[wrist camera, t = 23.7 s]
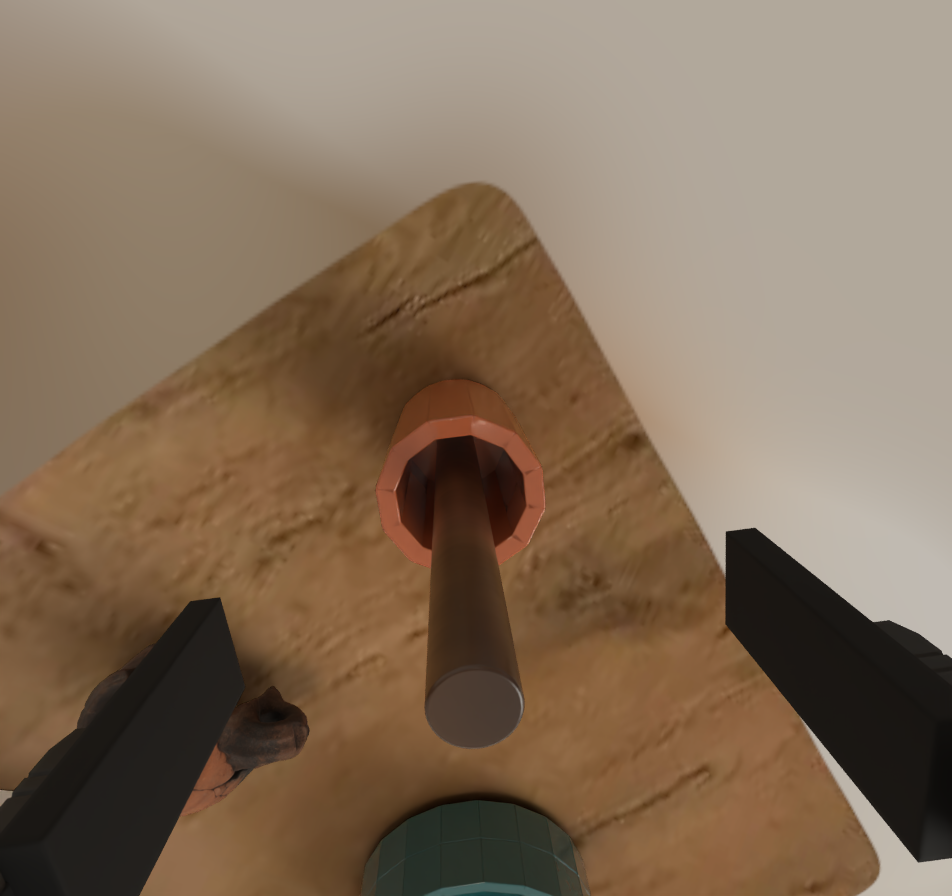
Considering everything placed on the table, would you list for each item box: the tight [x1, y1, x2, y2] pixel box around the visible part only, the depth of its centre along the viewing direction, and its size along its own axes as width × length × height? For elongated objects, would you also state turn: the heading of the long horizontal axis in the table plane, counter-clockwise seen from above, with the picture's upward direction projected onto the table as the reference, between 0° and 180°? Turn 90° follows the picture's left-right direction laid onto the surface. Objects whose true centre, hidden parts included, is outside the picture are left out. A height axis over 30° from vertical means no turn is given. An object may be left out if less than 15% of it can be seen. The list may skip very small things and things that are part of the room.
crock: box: [375, 379, 546, 568], centre depth 27 cm, size 7×7×9 cm
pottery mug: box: [77, 644, 310, 816], centre depth 32 cm, size 12×10×8 cm
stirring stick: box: [425, 435, 524, 749], centre depth 21 cm, size 2×2×20 cm
